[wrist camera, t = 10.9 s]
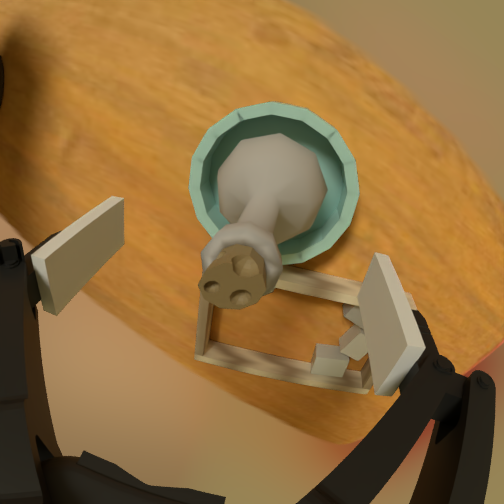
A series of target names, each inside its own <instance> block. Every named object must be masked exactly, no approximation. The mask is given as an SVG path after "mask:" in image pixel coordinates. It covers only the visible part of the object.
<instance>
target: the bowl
mask: <svg viewBox="0 0 504 504" xmlns="http://www.w3.org/2000/svg"><path fill="white" fill-rule="evenodd" d="M278 133H281V134H283V135H285V136H286V137H288V138H290V139H292V140H293V141H295V142H297V143H299V144H300V145H302V146H304V147H305V148H307V149H309V150H310V151H312V152H314V153H315V154H316V156H317V159H318V162H319V165H320V168H321V171H322V174H323V177H324V180H325V183H326V186H327V189H328V191H327V193H326V196H325V198H324V200H323V203H322V205H321V207H320V210H319V212H318V214H317V216H316V219H315V221H314V223H313V225H312V226H311V227H310V229H309V230H307V231H305V232H303V233H301V234H298V235H296V236H294V237H292V238H290V239H288V240H286V241H284V242H282V243H280V244H277V246H278V248H279V251H280V253H281V258H282V265H287V264H296V263H303V262H305V261H307V260H309V259H311V258H313V257H315V256H316V255H318V254H320V253H322V252H324V251H326V250H328V249H330V248H331V247H332V245H333V244H334V243H335V242H336V241H337V240H338V238H339V237H340V236H341V235H342V234H343V233H344V231H345V230H346V229H347V228H348V227H349V225H350V224H351V220H352V217H353V214H354V211H355V207H356V204H357V201H358V197H359V194H360V193H359V184H358V176H357V169H356V161H355V159H354V157H353V155H352V154H351V152H350V150H349V149H348V147H347V145H346V144H345V142H344V140H343V139H342V137H341V136H340V134H339V132H338V131H337V130H336V129H335V128H334V127H333V126H332V125H331V124H329V123H328V122H327V121H325V120H324V119H322V118H321V117H319V116H318V115H317V114H315V113H314V112H312V111H311V110H309V109H308V108H305V107H301V106H296V105H291V104H286V103H281V102H276V101H272V102H267V103H262V104H257V105H252V106H247V107H243V108H238V109H235V110H234V111H233V112H231V113H230V114H228V115H227V116H226V117H224V118H223V119H221V120H220V121H219V122H217V123H216V124H214V125H213V126H212V127H210V128H209V129H208V131H207V132H206V134H205V136H204V137H203V139H202V141H201V142H200V144H199V146H198V148H197V149H196V151H195V153H194V155H193V156H192V162H191V171H190V179H189V192H190V195H191V199H192V202H193V206H194V209H195V213H196V216H197V219H198V220H199V221H200V223H201V224H202V225H203V227H204V228H205V229H206V230H207V232H208V233H209V234H210V236H211V237H212V238H213V237H214V235H215V234H216V233H217V232H218V231H219V230H220V229H222V228H223V227H224V226H225V225H226V224H230V223H229V222H228V220H227V219H226V218H225V217H224V216H223V215H222V214H221V213H220V209H219V195H218V181H217V176H218V169H219V168H220V167H221V165H222V164H223V163H224V161H225V160H226V159H227V157H228V156H229V155H230V154H231V152H232V151H233V150H234V149H235V147H236V146H237V145H238V143H239V142H240V141H241V140H244V139H250V138H255V137H260V136H266V135H272V134H278Z"/></svg>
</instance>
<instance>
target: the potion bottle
mask: <svg viewBox="0 0 504 504" xmlns="http://www.w3.org/2000/svg"><path fill="white" fill-rule="evenodd" d="M217 181H218V195H219V209H220V213H221V214H222V215H223V216H224V217H225V218H226V219H227V220H228V222H229V223H230V224H226V225H225V226H224V227H223V228H222V229H220V230H219V231H218V232H217V233H216V234H215V235H214V237H213V238H212V239H211V240H210V242H209V243H208V244H207V245H206V246H205V248H204V249H203V250H202V251H201V259H202V267H203V276H202V278H201V280H200V282H199V284H198V286H199V289H200V291H201V294H202V296H203V298H204V299H205V300H206V301H208V302H210V303H212V304H213V305H215V306H217V307H219V308H225V309H242V308H245V307H248V306H250V305H253V304H255V303H257V302H258V301H259V300H260V298H261V297H262V296H264V295H266V294H269V293H271V292H273V290H274V288H275V286H276V284H277V282H278V279H279V277H280V275H281V273H282V270H283V265H282V258H281V253H280V251H279V248H278V246H277V244H280V243H282V242H284V241H286V240H288V239H290V238H292V237H294V236H296V235H298V234H301V233H303V232H305V231H307V230H309V229H310V227H311V226H312V225H313V223H314V221H315V219H316V216H317V214H318V212H319V210H320V207H321V205H322V203H323V200H324V198H325V196H326V193H327V191H328V189H327V186H326V183H325V180H324V177H323V174H322V171H321V168H320V165H319V162H318V159H317V156H316V154H315V153H314V152H312V151H310V150H309V149H307V148H305V147H304V146H302V145H300V144H299V143H297V142H295V141H293V140H292V139H290V138H288V137H286V136H285V135H283V134H281V133H278V134H272V135H266V136H260V137H255V138H250V139H244V140H241V141H240V142H239V143H238V145H237V146H236V147H235V149H234V150H233V151H232V152H231V154H230V155H229V156H228V157H227V159H226V160H225V161H224V163H223V164H222V165H221V167H220V168H219V169H218V176H217Z"/></svg>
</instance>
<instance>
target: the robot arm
mask: <svg viewBox="0 0 504 504" xmlns="http://www.w3.org/2000/svg"><path fill="white" fill-rule="evenodd" d="M3 81H4V77H3V65H2V60H1V57H0V106H1V101H2V95H3ZM123 245H124V198H120V197H114V196H111V197H110V198H108V199H107V200H105V201H104V202H102V203H101V204H99V205H98V206H96V207H95V208H94V209H92V210H91V211H89V212H88V213H86V214H85V215H83V216H82V217H81V218H79V219H78V220H76V221H75V222H74V223H72V224H71V225H70V226H68V227H67V228H65V229H64V230H63V231H59V232H57V233H55V234H52V235H51V236H49V237H48V238H47V239H45V241H43V242H41V243H40V244H39V245H37V246H36V247H35V248H34V249H32V250H31V251H30V252H28V253H27V254H26V255H25V256H24V252H23V247H22V242H21V241H20V240H19V239H14V238H12V239H6V240H3V241H1V242H0V504H224V502H225V498H226V497H223V496H218V495H214V494H209V493H205V492H201V491H197V490H193V489H189V488H173V487H161V486H151V485H147V484H145V483H143V482H141V481H140V480H138V479H137V478H135V477H134V476H132V475H131V474H129V473H128V472H126V471H125V470H123V469H122V468H120V467H119V466H117V465H116V464H114V463H111V462H109V461H107V460H104V459H102V458H100V457H97V456H95V455H93V454H90V453H88V452H86V451H83V453H82V455H81V457H73V456H62V453H61V451H60V449H59V447H58V444H57V441H56V437H55V433H54V429H53V424H52V419H51V415H50V410H49V405H48V399H47V393H46V387H45V381H44V374H43V366H42V358H41V348H40V338H39V324H38V310H37V307H36V304H37V303H38V302H39V301H40V300H41V301H42V305H43V309H44V311H46V312H49V313H51V314H54V315H56V316H57V315H58V314H59V313H60V312H61V310H62V309H63V308H64V307H65V306H66V305H67V304H68V302H70V300H71V299H72V298H73V297H74V296H75V295H76V294H77V293H78V292H79V291H80V289H81V288H82V287H83V286H84V285H85V284H86V283H87V282H88V281H89V280H90V279H91V278H92V277H93V276H94V275H95V273H96V272H97V271H98V270H99V269H100V268H101V267H102V266H103V265H104V264H105V263H106V262H107V261H108V260H109V259H110V258H111V257H112V256H113V255H114V254H115V253H116V252H117V251H118V250H119V249H120V248H121V247H122V246H123ZM357 298H358V303H359V307H360V312H361V317H362V322H363V327H364V332H365V338H366V343H367V349H368V354H369V360H370V366H371V372H372V379H373V385H374V392H375V395H383V396H392V395H393V394H394V393H395V391H396V390H397V389H398V387H399V389H400V394H401V395H400V396H399V398H398V399H397V400H396V401H395V403H394V404H393V405H392V406H391V408H390V409H389V410H388V411H387V412H386V414H385V415H384V416H383V417H382V418H381V420H380V421H379V422H378V423H377V424H376V425H375V427H374V428H373V429H372V430H371V431H370V432H369V433H368V434H367V436H366V437H365V438H364V439H363V440H362V441H361V442H360V443H359V444H358V445H357V446H356V448H355V449H354V450H353V451H352V452H351V453H350V454H349V455H348V456H347V457H346V458H345V459H344V460H343V461H342V462H341V463H340V464H339V465H338V466H337V467H336V468H335V469H334V470H333V471H332V472H331V473H330V474H329V475H328V476H327V477H326V478H324V479H323V480H322V481H321V482H320V483H319V484H318V485H317V486H316V487H315V488H314V489H312V490H311V491H310V492H309V493H308V494H307V495H306V496H304V497H303V498H302V499H301V500H300V501H299V502H298V503H296V504H369V503H370V502H371V501H372V500H373V499H374V498H375V496H376V495H377V494H378V493H379V492H380V490H381V489H382V488H383V487H384V485H385V484H386V483H387V482H388V480H389V479H390V478H391V476H392V475H393V474H394V472H395V471H396V470H397V468H398V467H399V466H400V464H401V463H402V462H403V460H404V459H405V457H406V456H407V454H408V453H409V451H410V450H411V449H412V447H413V446H414V444H415V443H416V441H417V440H418V438H419V436H420V435H421V434H422V432H423V430H424V429H425V427H426V426H427V424H428V422H429V421H430V419H434V420H435V424H434V428H433V432H432V435H431V439H430V443H429V446H428V450H427V453H426V457H425V460H424V463H423V466H422V469H421V472H420V475H419V478H418V481H417V484H416V487H415V490H414V492H413V495H412V498H411V500H410V503H409V504H484V500H485V495H486V489H487V484H488V478H489V471H490V465H491V457H492V448H493V437H494V422H495V395H496V388H495V383H494V381H493V379H492V378H491V377H490V376H489V375H488V374H487V373H485V372H483V371H480V370H476V371H474V372H472V374H471V375H470V376H469V377H468V378H467V377H465V376H463V375H460V374H457V373H455V368H454V366H453V364H452V363H451V361H449V360H448V359H447V358H446V357H444V356H442V355H439V353H438V350H437V347H436V345H435V342H434V340H433V337H432V335H431V332H430V330H429V328H428V325H427V322H426V320H425V318H424V317H423V316H422V315H421V313H420V312H419V311H418V310H413V309H411V307H410V305H409V302H408V300H407V298H406V295H405V293H404V290H403V288H402V286H401V283H400V281H399V279H398V276H397V274H396V272H395V269H394V267H393V265H392V263H391V260H390V258H389V256H388V255H384V254H380V253H376V252H375V253H374V256H373V258H372V261H371V263H370V266H369V269H368V271H367V274H366V276H365V279H364V281H363V284H362V286H361V288H360V291H359V293H358V296H357Z"/></svg>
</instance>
